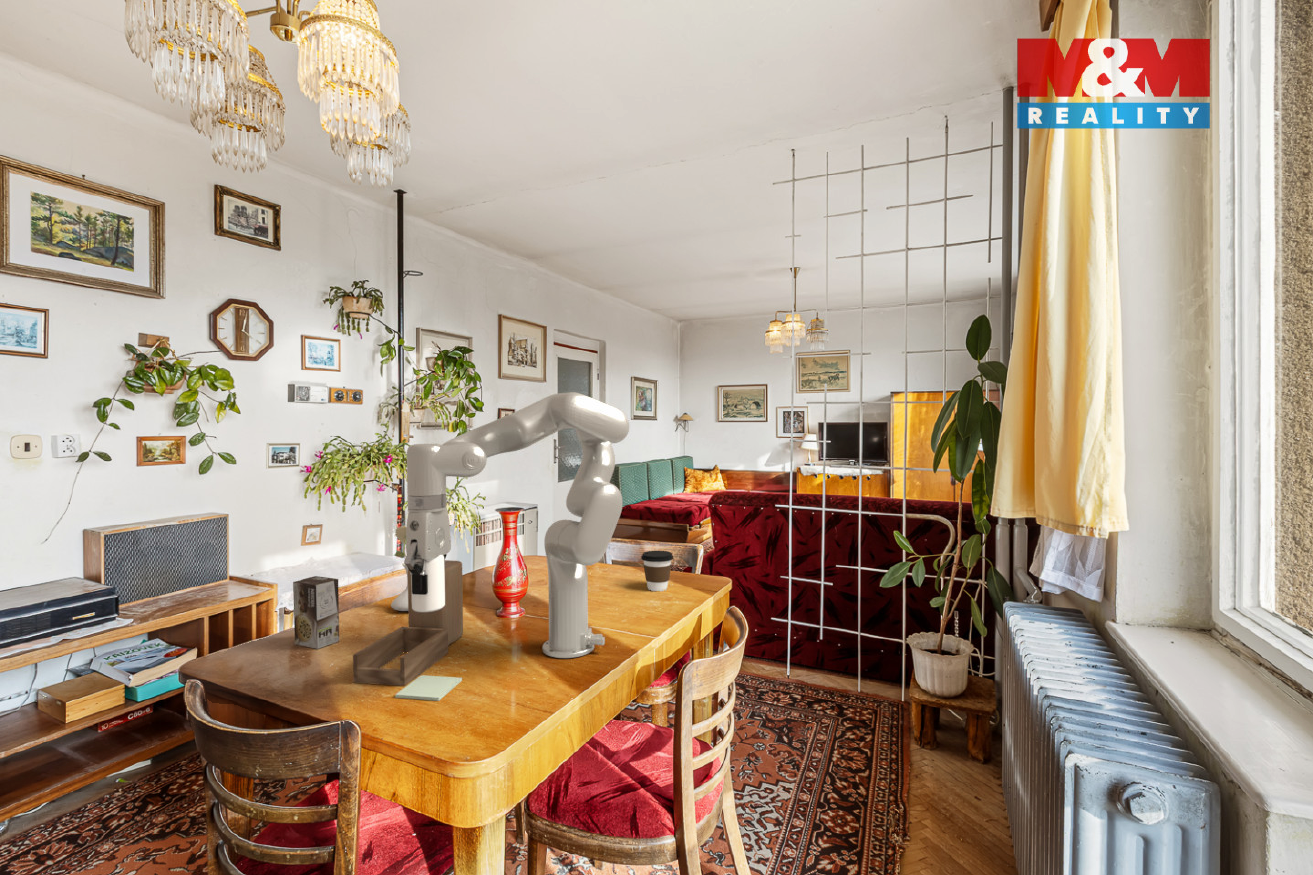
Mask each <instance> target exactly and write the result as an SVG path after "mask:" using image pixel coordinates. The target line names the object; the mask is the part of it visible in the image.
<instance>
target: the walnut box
mask: <svg viewBox="0 0 1313 875" xmlns="http://www.w3.org/2000/svg"><path fill="white" fill-rule="evenodd" d="M403 652H408V653H403ZM402 653H403V654H402ZM446 654H447V655H448V654H449V645H448V629H440V628H420V627H409V626H401V627H400V628H397V629H396V630H394V631H392V632H390V633H389V634H386V635H385V636H383V637H381V638H380V639H378V640H376V641H373V643H371V644H369V645H367V646H365V647H364V648H362V649H360V650H359V651H357V652H355V653H353V654H352V669H353V670H352V672H353V673H352V674H353V676H352V678H353V679H352V682H353V683H358V684H368V685H369V684H372V685H373V684H374V685H382V686H383V685H386V686H398V687H399V686H401V687H406V685H409V684H410V683H411V682H413V681H414V680H415V679H417V678H418V677H419V676H421V675H422V674H423V673H424V672H425V671H427V670H428V669H430V668H431V667H433V664H434V663H435V664H436V663H437V662H439V661H440V660H442V659H444V657H446V656H447V655H446ZM399 655H400V657H399ZM445 655H446V656H445ZM396 657H397V658H398V657H399V669H398V668H385V667H384V666H386V665H387V664H389V663H390V662H392V661H393V660H395V659H396ZM388 662H389V663H388ZM385 664H386V665H385ZM435 664H434V665H435ZM382 667H384V668H382Z"/></svg>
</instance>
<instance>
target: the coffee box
mask: <svg viewBox="0 0 1313 875" xmlns="http://www.w3.org/2000/svg"><path fill="white" fill-rule="evenodd" d="M292 589H293V590H292V591H293V593H292V594H293V597H292V599H293V619H294V620H293V624H294V645H296V646H302V647H308V648H312V649H316V650H318V649H319V650H320V649H321V648H324V647H327V646H330V645H333V644H336V643H339V642H338V641H340V611H339V610H340V609H339V607H340V605H339V604H340V602H339V599H340V598H339V578H332V577H325V576H320V575H319V576H318V575H314V576H311V577H310V576H309V577H306V578H302V579H300V580H295V581H293V582H292Z"/></svg>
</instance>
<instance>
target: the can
mask: <svg viewBox="0 0 1313 875" xmlns="http://www.w3.org/2000/svg"><path fill="white" fill-rule="evenodd" d="M416 559H422V558H421V556H416ZM416 564H418V565H419V566H420V567H421V564H422V562H416ZM425 575H428V593H427V594H426V595H418V594H412V609H413V610H414V611H415V612H419V613H427V612H434V611H438V610H440V609H442V608H443V607H444V606H445V572H444V556H443V555H439V556H438V557H437V558H435V559H434V560H431V561H427V562H426V573H425ZM411 592H412V575H411Z"/></svg>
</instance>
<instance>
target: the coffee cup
mask: <svg viewBox="0 0 1313 875" xmlns="http://www.w3.org/2000/svg"><path fill="white" fill-rule="evenodd" d="M640 559H641V560H642V561H643V565H642V566H643V570H644V571H643V572H644V575H645V578H644V579H645V581H646V586H647V589H648V591H650V590H651V591H650V592H655V591H660V592H665V591H666V590H668V585H669V581H670V576H671V568H672V560H674V555H673V552H670V551H669V550H667V551H666V550H647V551H644V552H642V555H641V557H640ZM664 590H665V591H664Z"/></svg>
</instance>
